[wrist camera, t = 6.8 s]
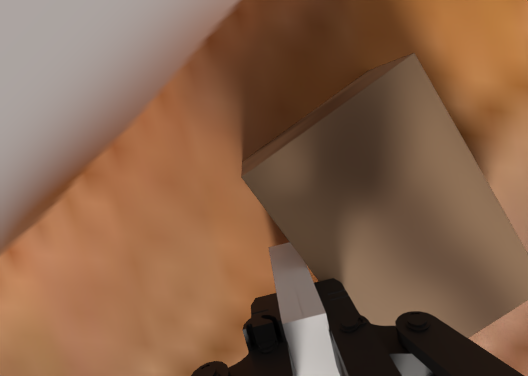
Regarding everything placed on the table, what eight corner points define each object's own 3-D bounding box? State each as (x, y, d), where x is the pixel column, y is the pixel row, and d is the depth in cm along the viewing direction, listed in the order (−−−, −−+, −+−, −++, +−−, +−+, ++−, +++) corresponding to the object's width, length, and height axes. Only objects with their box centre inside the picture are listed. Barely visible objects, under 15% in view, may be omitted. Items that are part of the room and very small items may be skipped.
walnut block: (359, 320, 20) (395, 384, 15) (242, 161, 18) (241, 177, 13) (472, 245, 20) (547, 287, 15) (366, 71, 17) (414, 52, 12)
